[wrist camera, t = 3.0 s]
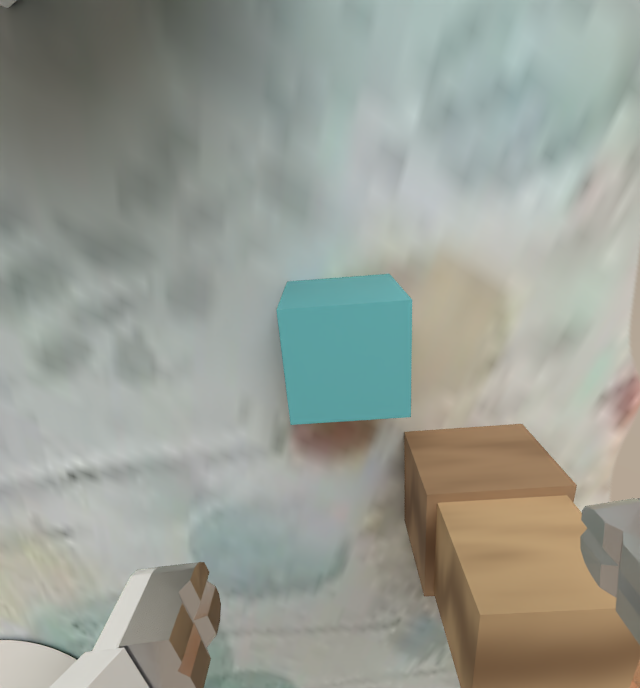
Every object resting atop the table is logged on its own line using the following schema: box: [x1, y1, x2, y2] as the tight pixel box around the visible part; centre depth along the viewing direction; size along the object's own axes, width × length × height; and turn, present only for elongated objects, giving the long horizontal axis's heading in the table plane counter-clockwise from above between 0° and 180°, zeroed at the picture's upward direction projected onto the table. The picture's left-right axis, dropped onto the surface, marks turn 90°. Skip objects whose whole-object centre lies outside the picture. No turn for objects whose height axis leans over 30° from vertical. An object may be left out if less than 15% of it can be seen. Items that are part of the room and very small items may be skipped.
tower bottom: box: [404, 424, 577, 596], centre depth 25 cm, size 8×8×6 cm
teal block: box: [277, 274, 412, 425], centre depth 21 cm, size 6×6×6 cm
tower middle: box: [434, 495, 640, 688], centre depth 19 cm, size 7×7×6 cm
